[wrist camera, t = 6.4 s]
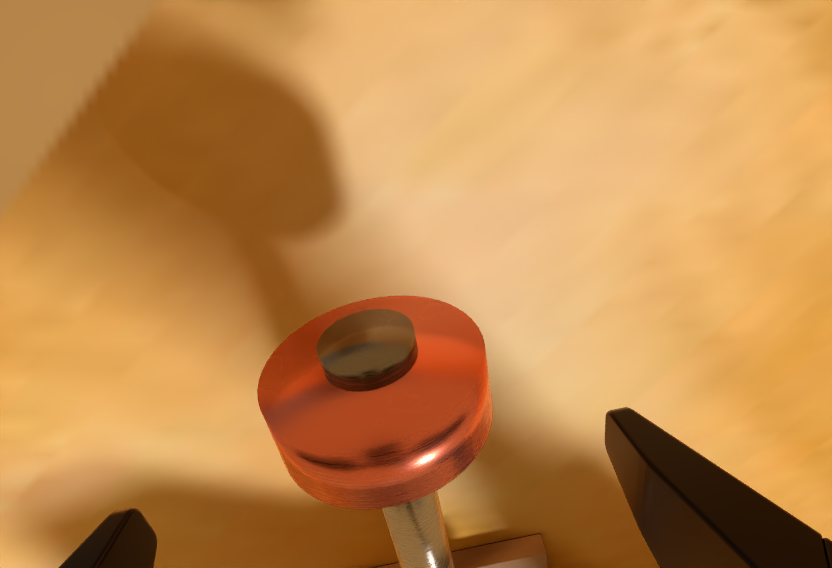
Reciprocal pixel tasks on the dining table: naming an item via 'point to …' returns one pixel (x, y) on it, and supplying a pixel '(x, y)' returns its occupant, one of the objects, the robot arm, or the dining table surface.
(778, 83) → the dining table surface
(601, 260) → the dining table surface
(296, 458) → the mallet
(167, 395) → the dining table surface
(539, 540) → the wall mount bracket
